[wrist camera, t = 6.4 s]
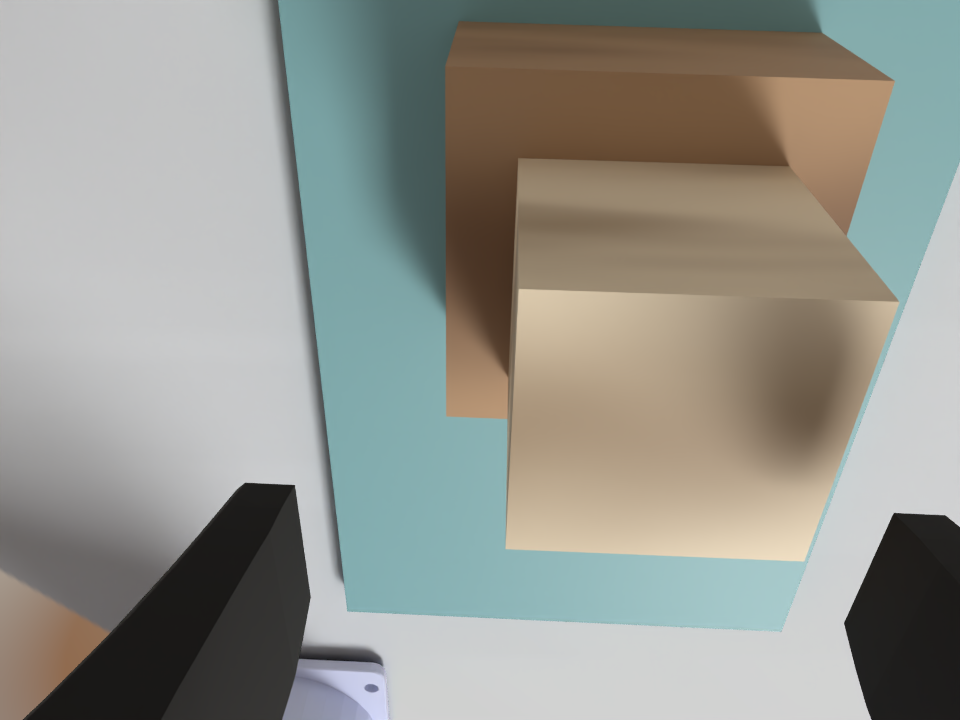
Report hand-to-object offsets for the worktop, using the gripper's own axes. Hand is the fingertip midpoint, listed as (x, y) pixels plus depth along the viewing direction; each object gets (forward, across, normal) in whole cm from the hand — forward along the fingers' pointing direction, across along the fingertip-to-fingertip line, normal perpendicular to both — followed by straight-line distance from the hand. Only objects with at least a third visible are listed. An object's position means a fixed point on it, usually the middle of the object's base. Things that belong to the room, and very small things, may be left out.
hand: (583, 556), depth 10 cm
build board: (+10, -1, +4) cm, 11 cm away
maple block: (+6, -1, -1) cm, 6 cm away
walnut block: (+10, -1, -1) cm, 10 cm away
